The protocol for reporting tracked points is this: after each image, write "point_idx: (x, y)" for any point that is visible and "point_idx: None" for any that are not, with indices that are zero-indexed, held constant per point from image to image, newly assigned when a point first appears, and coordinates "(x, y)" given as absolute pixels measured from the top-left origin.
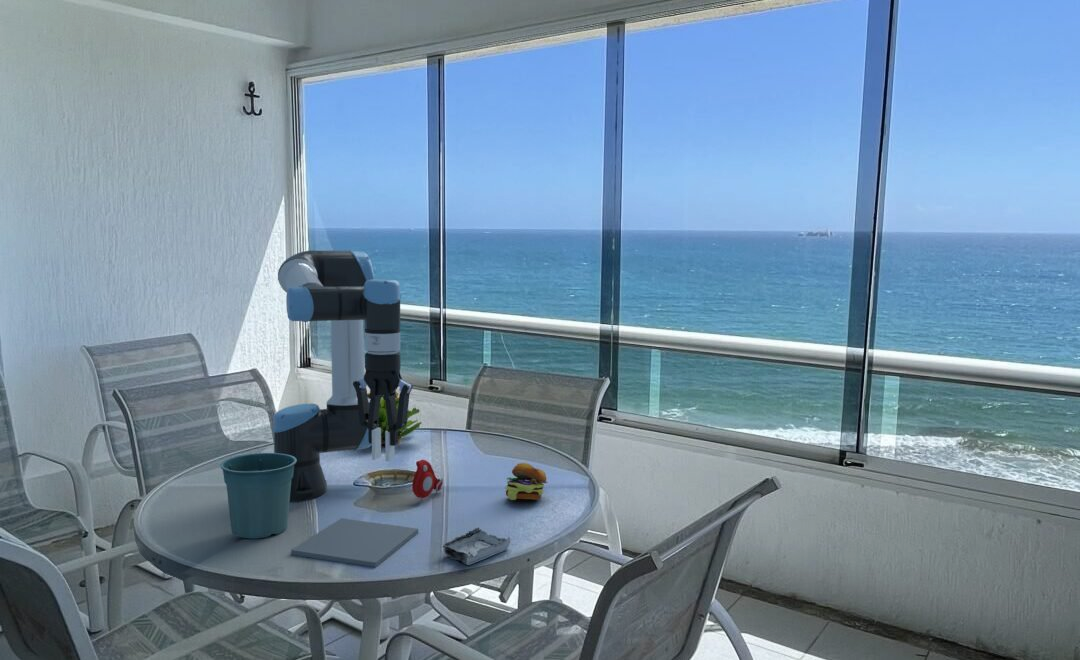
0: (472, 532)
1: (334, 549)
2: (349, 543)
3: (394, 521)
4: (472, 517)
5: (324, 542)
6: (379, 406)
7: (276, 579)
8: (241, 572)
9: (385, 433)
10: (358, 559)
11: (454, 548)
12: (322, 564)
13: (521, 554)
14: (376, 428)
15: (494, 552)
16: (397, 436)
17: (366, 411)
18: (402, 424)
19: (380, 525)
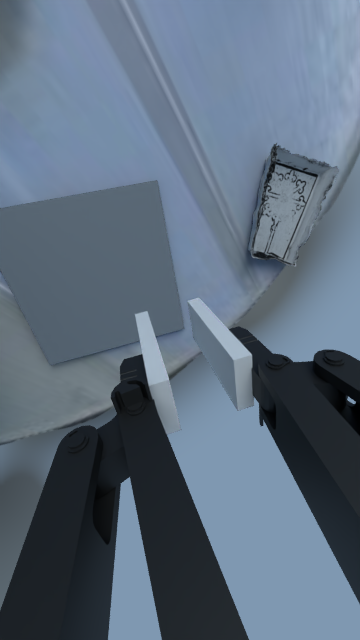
0: (273, 174)
1: (102, 330)
2: (103, 303)
3: (68, 143)
4: (205, 12)
5: (65, 321)
6: (212, 552)
7: (105, 407)
8: (52, 420)
9: (233, 403)
10: (158, 334)
11: (253, 226)
12: (117, 356)
13: (340, 180)
14: (158, 403)
15: (309, 205)
16: (261, 346)
17: (97, 557)
18: (351, 404)
19: (81, 205)
